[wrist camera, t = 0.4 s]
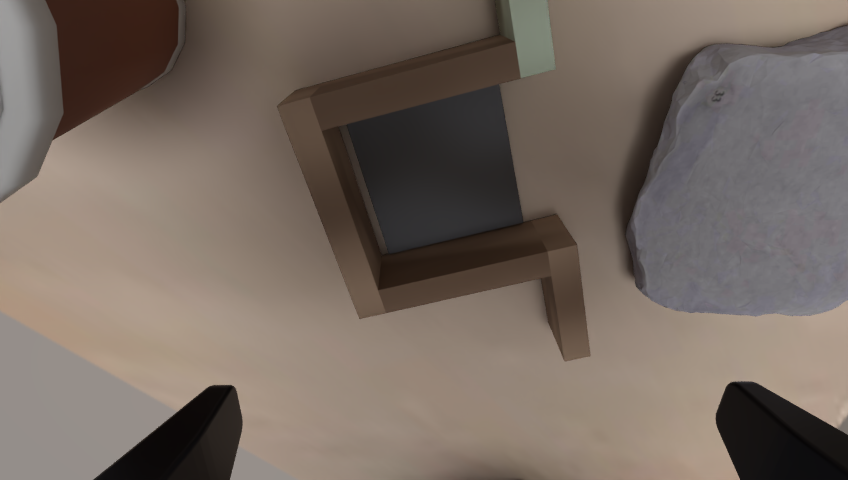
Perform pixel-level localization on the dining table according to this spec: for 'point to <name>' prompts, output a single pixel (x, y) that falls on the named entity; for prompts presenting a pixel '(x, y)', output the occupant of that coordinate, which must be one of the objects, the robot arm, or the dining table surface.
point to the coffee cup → (74, 68)
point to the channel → (437, 178)
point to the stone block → (750, 183)
